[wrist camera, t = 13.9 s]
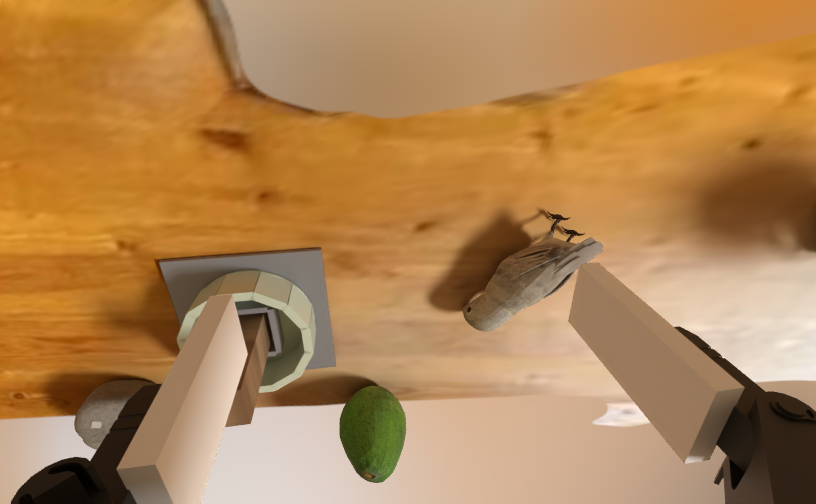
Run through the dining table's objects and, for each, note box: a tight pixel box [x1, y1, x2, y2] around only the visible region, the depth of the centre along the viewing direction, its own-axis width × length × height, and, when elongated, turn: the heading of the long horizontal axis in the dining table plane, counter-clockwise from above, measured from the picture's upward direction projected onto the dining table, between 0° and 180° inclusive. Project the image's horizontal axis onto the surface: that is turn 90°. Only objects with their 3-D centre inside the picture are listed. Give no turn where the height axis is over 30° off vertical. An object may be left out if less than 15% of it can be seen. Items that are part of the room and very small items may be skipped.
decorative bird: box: [463, 211, 603, 332], centre depth 44 cm, size 5×16×8 cm, turn 136°
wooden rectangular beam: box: [225, 312, 272, 427], centre depth 39 cm, size 3×4×12 cm
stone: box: [75, 380, 155, 450], centre depth 47 cm, size 9×9×10 cm
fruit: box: [340, 386, 406, 483], centre depth 48 cm, size 8×8×12 cm
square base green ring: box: [159, 248, 336, 393], centre depth 43 cm, size 16×16×5 cm
